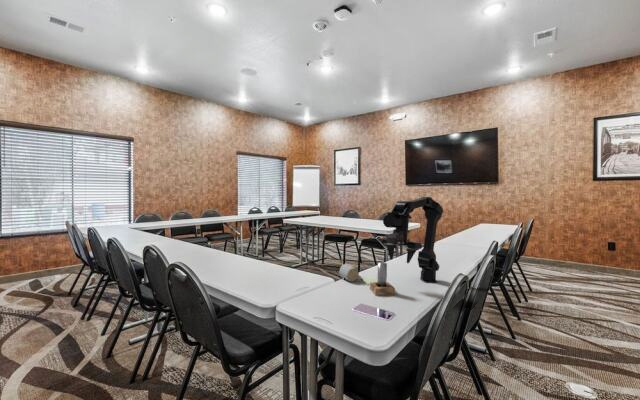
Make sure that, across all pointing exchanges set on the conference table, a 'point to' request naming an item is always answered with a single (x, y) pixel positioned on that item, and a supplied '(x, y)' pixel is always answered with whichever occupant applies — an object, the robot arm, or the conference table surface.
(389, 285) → the wooden peg socket
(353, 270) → the ceramic mug
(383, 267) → the peg
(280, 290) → the conference table surface
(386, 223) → the robot arm
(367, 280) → the coaster
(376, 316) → the mobile phone
